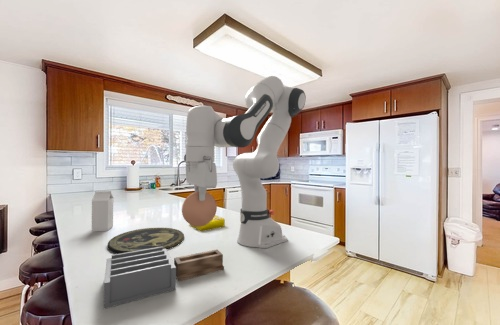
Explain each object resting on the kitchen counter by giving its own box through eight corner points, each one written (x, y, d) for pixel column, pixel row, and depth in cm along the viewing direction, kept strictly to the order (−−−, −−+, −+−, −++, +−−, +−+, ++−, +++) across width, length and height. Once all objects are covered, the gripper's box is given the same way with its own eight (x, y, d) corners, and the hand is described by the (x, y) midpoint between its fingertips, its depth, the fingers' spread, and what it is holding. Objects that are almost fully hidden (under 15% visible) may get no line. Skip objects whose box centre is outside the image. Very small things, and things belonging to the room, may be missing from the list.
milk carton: (108, 230, 110) (108, 192, 110) (91, 231, 108) (91, 192, 108) (113, 226, 117) (113, 190, 116) (97, 227, 115) (97, 190, 115)
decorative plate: (88, 247, 85) (141, 224, 115) (87, 252, 85) (140, 228, 115) (158, 255, 80) (195, 229, 109) (158, 260, 80) (195, 233, 109)
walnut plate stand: (215, 261, 78) (216, 248, 78) (223, 269, 72) (224, 255, 72) (173, 270, 71) (173, 256, 71) (178, 281, 65) (178, 265, 65)
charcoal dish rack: (165, 266, 74) (165, 245, 74) (175, 289, 61) (176, 263, 61) (106, 279, 65) (106, 255, 65) (103, 308, 53) (104, 279, 53)
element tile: (212, 221, 132) (212, 212, 132) (226, 227, 120) (226, 218, 120) (188, 225, 123) (188, 216, 123) (200, 232, 111) (200, 222, 111)
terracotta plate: (215, 223, 75) (215, 190, 75) (216, 224, 74) (216, 190, 74) (181, 227, 70) (181, 192, 69) (182, 228, 68) (183, 192, 68)
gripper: (222, 156, 64) (222, 204, 64) (200, 156, 82) (200, 194, 82) (201, 155, 61) (200, 206, 61) (182, 156, 79) (182, 195, 79)
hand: (200, 199), depth 72 cm, fingers closed on terracotta plate, 1 cm apart
